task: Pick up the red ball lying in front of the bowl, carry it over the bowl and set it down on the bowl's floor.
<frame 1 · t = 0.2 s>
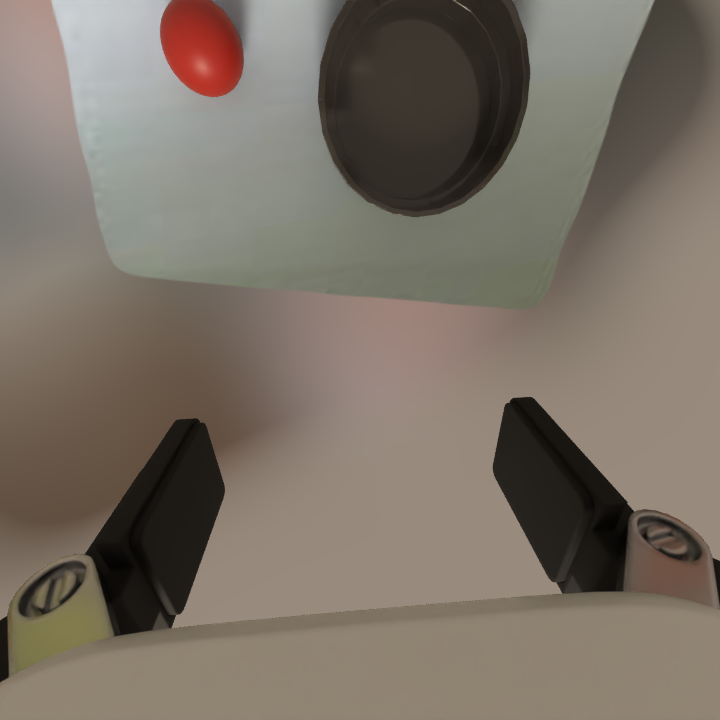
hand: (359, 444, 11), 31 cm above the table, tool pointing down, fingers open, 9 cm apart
bowl: (411, 114, 33), on the table
red ball: (203, 49, 27), point 3 cm above the table
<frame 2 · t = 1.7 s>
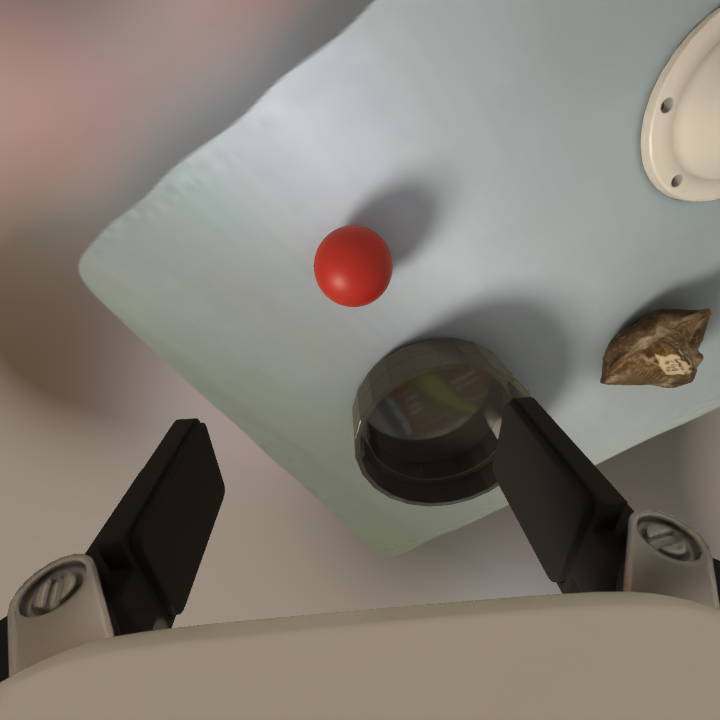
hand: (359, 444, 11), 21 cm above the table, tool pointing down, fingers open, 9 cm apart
fossilized seashell: (633, 339, 34), on the table
bowl: (431, 408, 37), on the table
red ball: (353, 267, 26), point 3 cm above the table
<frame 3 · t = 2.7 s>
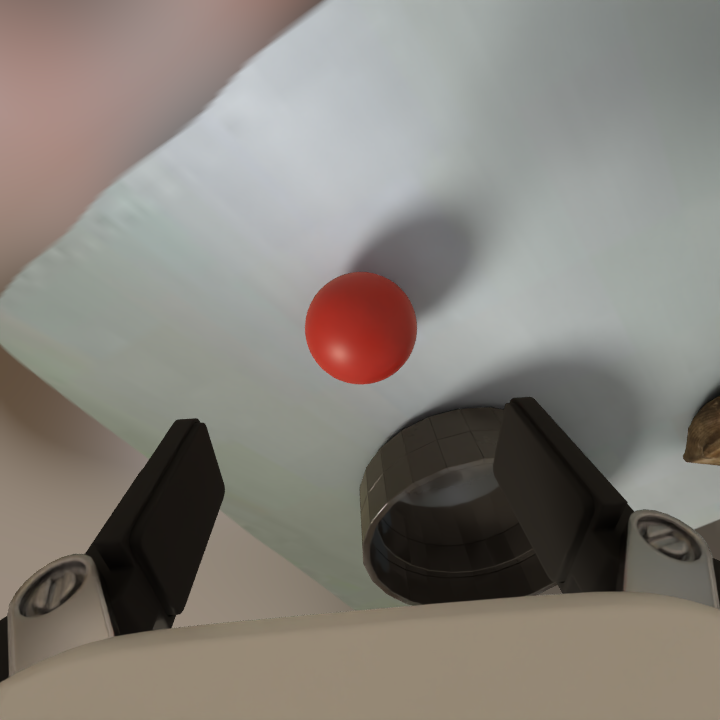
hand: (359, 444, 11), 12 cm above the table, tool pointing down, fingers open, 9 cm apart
bowl: (460, 485, 29), on the table
red ball: (361, 328, 19), point 3 cm above the table
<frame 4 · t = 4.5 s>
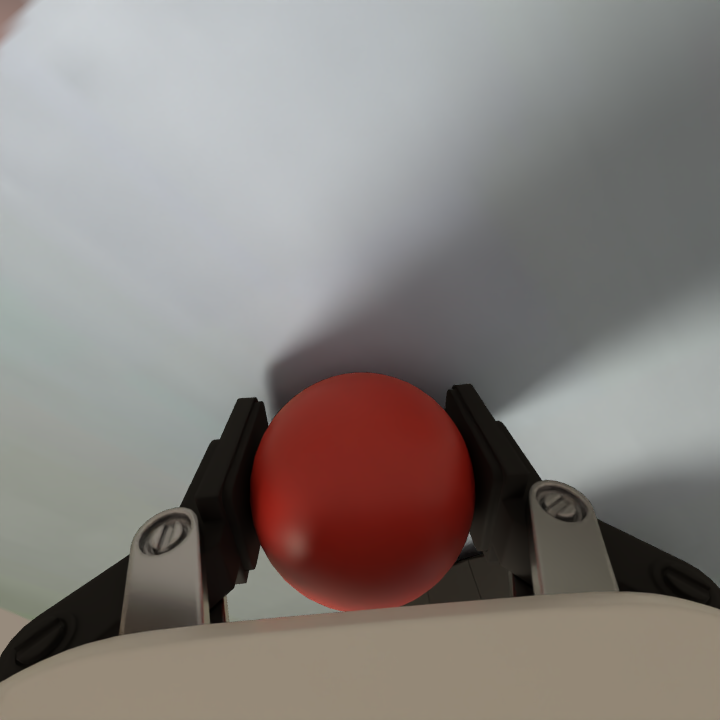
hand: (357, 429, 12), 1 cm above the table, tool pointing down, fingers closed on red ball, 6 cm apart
bowl: (504, 627, 20), on the table
red ball: (362, 479, 10), point 3 cm above the table, touching gripper
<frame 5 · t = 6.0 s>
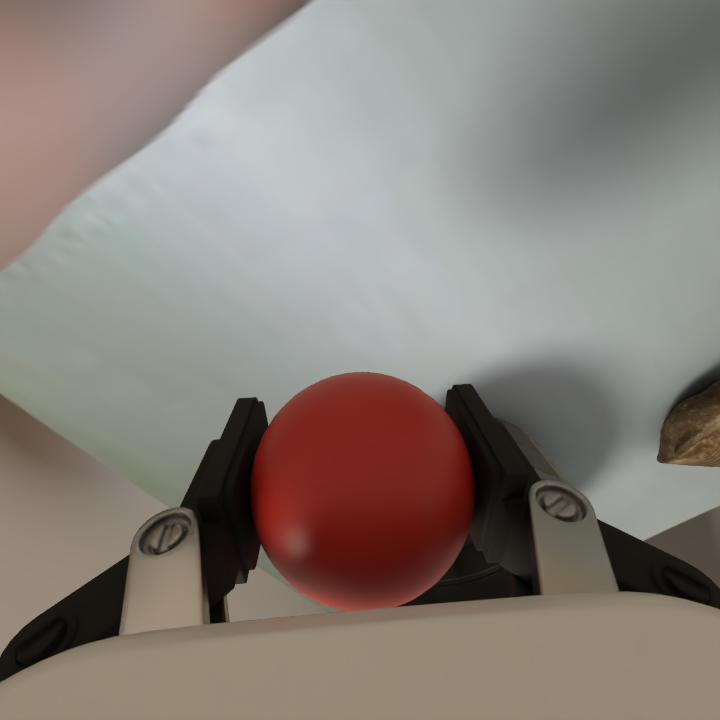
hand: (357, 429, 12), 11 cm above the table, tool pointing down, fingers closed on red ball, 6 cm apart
fossilized seashell: (696, 404, 27), on the table
bowl: (442, 492, 29), on the table
red ball: (362, 479, 10), point 13 cm above the table, touching gripper
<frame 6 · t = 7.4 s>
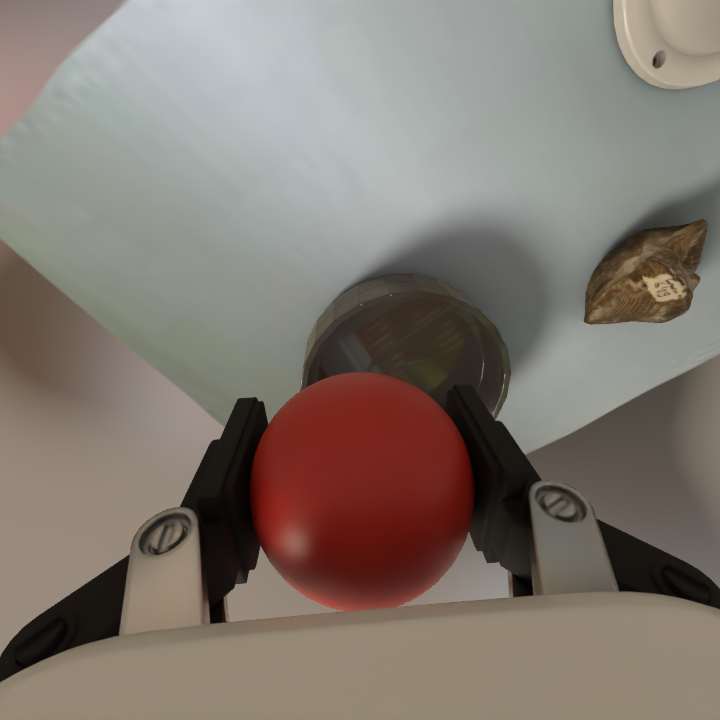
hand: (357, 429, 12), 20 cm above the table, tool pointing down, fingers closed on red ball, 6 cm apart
fossilized seashell: (620, 271, 30), on the table
bowl: (395, 361, 33), on the table
red ball: (361, 479, 10), point 22 cm above the table, touching gripper
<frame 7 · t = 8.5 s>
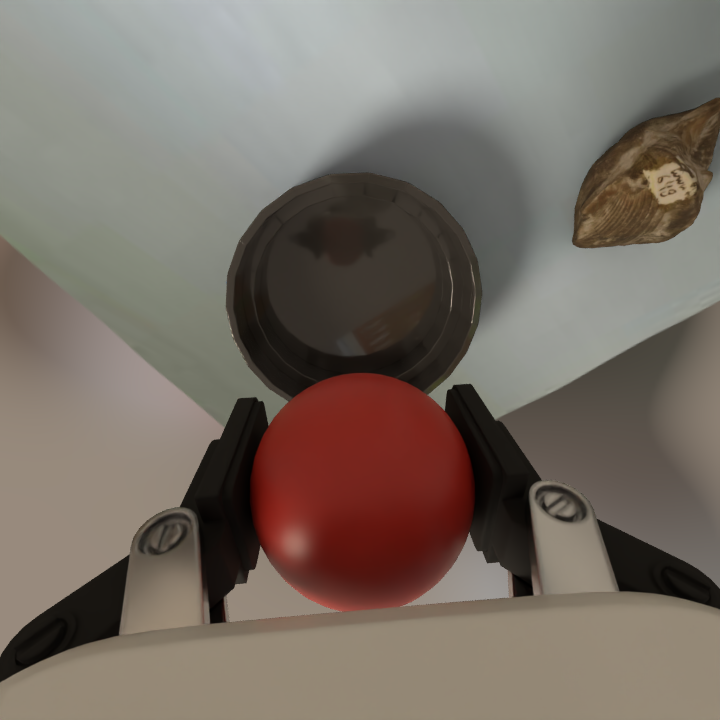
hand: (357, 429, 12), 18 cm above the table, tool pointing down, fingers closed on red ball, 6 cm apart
fossilized seashell: (616, 185, 26), on the table
bowl: (353, 292, 28), on the table
red ball: (362, 480, 10), point 20 cm above the table, touching gripper
when the fingers open (1 cm above the table, at t = 12.7 s): red ball moves 4 cm and tips over, resting on bowl.
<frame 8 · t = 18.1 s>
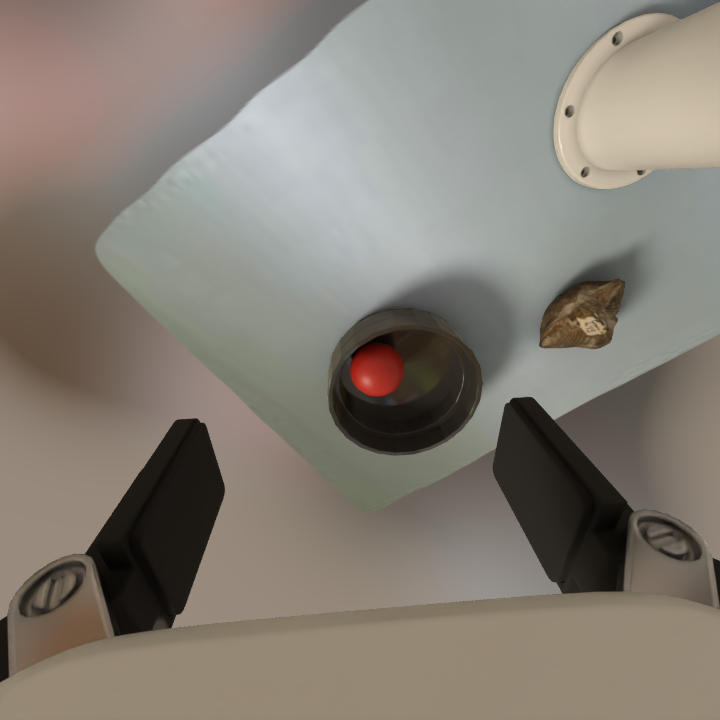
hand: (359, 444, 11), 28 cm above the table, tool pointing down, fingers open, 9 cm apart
fossilized seashell: (567, 309, 40), on the table
bowl: (397, 372, 43), on the table
red ball: (376, 369, 38), point 4 cm above the table, tilted 76°, touching bowl
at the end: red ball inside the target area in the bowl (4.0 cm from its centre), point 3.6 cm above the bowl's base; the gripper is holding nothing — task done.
